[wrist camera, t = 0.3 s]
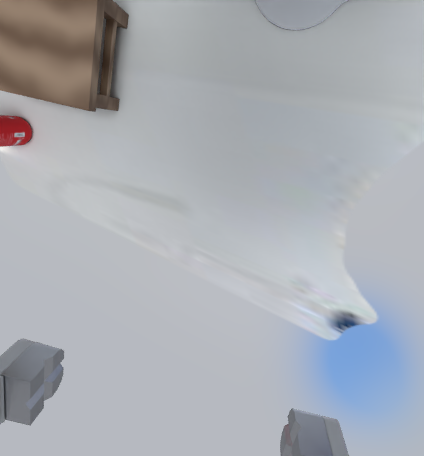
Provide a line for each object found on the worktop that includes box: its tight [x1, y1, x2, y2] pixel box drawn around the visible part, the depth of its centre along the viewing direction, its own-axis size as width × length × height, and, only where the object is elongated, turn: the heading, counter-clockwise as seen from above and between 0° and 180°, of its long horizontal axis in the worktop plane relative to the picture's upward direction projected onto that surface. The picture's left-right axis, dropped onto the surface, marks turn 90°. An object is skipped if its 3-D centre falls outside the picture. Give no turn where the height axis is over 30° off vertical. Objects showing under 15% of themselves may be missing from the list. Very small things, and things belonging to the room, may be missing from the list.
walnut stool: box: [0, 0, 129, 111], centre depth 49 cm, size 16×16×11 cm
